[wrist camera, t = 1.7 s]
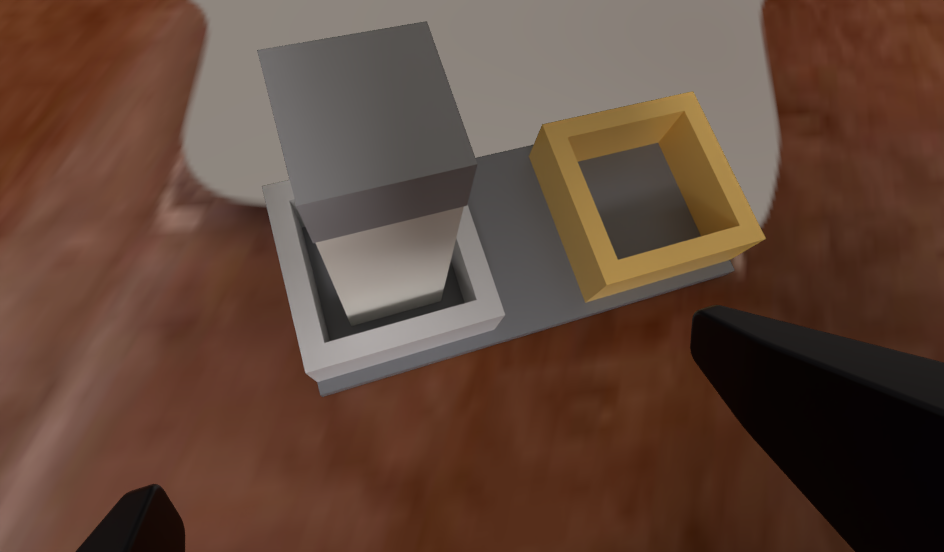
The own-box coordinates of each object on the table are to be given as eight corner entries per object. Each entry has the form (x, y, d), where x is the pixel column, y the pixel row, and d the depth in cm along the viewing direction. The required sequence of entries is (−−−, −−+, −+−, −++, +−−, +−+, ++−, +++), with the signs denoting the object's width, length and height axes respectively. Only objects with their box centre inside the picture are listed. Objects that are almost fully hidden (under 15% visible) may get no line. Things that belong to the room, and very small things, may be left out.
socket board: (656, 122, 26) (688, 81, 23) (726, 274, 24) (771, 250, 21) (277, 209, 23) (258, 173, 20) (322, 396, 20) (309, 387, 18)
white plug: (416, 219, 23) (426, 21, 12) (442, 302, 22) (477, 164, 11) (327, 241, 22) (257, 50, 11) (350, 327, 21) (295, 205, 10)
